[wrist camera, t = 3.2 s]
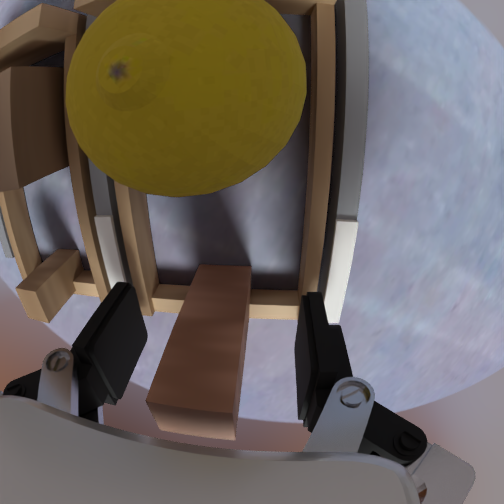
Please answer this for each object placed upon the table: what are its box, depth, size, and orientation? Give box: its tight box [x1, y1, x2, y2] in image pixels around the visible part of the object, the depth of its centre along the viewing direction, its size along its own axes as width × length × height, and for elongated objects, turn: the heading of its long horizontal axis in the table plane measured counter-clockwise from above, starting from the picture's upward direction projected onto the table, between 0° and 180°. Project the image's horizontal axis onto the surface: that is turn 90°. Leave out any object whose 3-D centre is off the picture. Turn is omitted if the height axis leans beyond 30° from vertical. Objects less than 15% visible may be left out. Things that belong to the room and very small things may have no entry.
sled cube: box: [0, 3, 111, 323], centre depth 10 cm, size 6×14×4 cm, turn 0°
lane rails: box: [86, 0, 369, 323], centre depth 10 cm, size 10×14×2 cm
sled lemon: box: [74, 0, 337, 440], centre depth 8 cm, size 8×14×8 cm, turn 0°
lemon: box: [66, 0, 307, 197], centre depth 6 cm, size 6×6×8 cm
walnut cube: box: [0, 66, 69, 192], centre depth 8 cm, size 4×4×4 cm
